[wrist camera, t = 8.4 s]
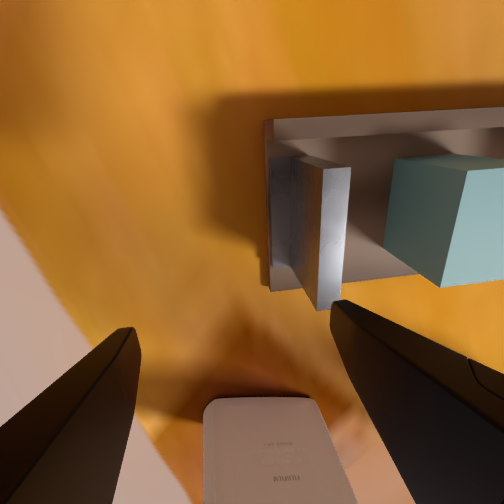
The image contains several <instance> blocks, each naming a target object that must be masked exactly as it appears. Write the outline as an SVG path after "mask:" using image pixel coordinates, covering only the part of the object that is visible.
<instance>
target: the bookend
mask: <svg viewBox="0 0 504 504" xmlns="http://www.w3.org/2000/svg"><path fill="white" fill-rule="evenodd" d="M269 176H270V216H271V255H272V268H273V269H276V268H285V267H291V269H292V270H293V272H294V274H295V275H296V277H297V279H298V280H299V282H300V284H301V285H302V287H303V289H304V290H305V292H306V294H307V296H308V297H309V299H310V301H311V302H312V304H313V306H314V307H315V309H316V311H321V310H328V309H331V304H332V302H333V301H337V300H340V294H341V283H342V271H343V259H344V247H345V235H346V223H347V211H348V199H349V188H350V176H351V167H349V166H346V165H342V164H339V163H335V162H332V161H328V160H325V159H321V158H318V157H314V156H311V155H305V156H290V157H276V158H269Z"/></svg>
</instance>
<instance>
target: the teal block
mask: <svg viewBox="0 0 504 504" xmlns="http://www.w3.org/2000/svg"><path fill="white" fill-rule="evenodd" d="M383 249H385V250H386V251H388V252H389V253H391V254H392V255H393V256H395V257H396V258H398V259H399V260H401V261H402V262H404V263H405V264H406V265H408V266H409V267H411V268H412V269H414V270H415V271H417V272H418V273H419V274H421V275H422V276H424V277H425V278H427V279H428V280H430V281H431V282H432V283H434V284H435V285H437V286H438V287H440V288H442V287H450V286H457V285H465V284H472V283H480V282H488V281H495V280H503V279H504V159H497V158H488V157H479V156H470V155H461V154H444V155H432V156H419V157H406V158H395V161H394V169H393V176H392V183H391V191H390V198H389V205H388V213H387V220H386V227H385V235H384V242H383Z"/></svg>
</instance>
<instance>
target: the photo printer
mask: <svg viewBox="0 0 504 504" xmlns="http://www.w3.org/2000/svg"><path fill="white" fill-rule="evenodd" d="M203 504H358V502H357V500H356V497H355V495H354V492H353V490H352V487H351V485H350V482H349V480H348V478H347V475H346V473H345V470H344V468H343V465H342V463H341V460H340V458H339V456H338V453H337V451H336V448H335V446H334V443H333V441H332V439H331V436H330V434H329V431H328V429H327V426H326V424H325V422H324V419H323V417H322V414H321V412H320V410H319V407H318V405H317V404H316V402H315V400H313V399H310V398H299V397H241V398H222V399H215V400H213V401H212V402H210V403H209V404H208V406H207V407H206V408H205V410H204V413H203Z"/></svg>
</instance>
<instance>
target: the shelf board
mask: <svg viewBox="0 0 504 504" xmlns="http://www.w3.org/2000/svg"><path fill="white" fill-rule="evenodd" d="M264 138H265V171H266V203H267V236H268V269H269V289H270V291H271V292H274V291H282V290H290V289H299V288H303V287H302V285H301V284H300V282H299V280H298V279H297V277H296V275H295V274H294V272H293V270H292V269H291V267H285V268H276V269H273V268H272V255H271V216H270V176H269V158H276V157H290V156H305V155H311V156H314V157H318V158H321V159H325V160H328V161H332V162H335V163H339V164H342V165H346V166H349V167H351V176H350V188H349V199H348V211H347V223H346V235H345V247H344V259H343V271H342V283H349V282H357V281H365V280H374V279H382V278H390V277H398V276H407V275H415V274H419V273H418V272H417V271H415V270H414V269H412V268H411V267H409V266H408V265H406V264H405V263H404V262H402V261H401V260H399V259H398V258H396V257H395V256H393V255H392V254H391V253H389V252H388V251H386V250H385V249H383V242H384V235H385V227H386V220H387V213H388V205H389V198H390V191H391V183H392V176H393V169H394V161H395V158H406V157H419V156H432V155H444V154H461V155H470V156H479V157H488V158H497V159H504V107H491V108H472V109H453V110H435V111H416V112H397V113H379V114H360V115H341V116H323V117H304V118H286V119H270V120H264Z"/></svg>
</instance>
